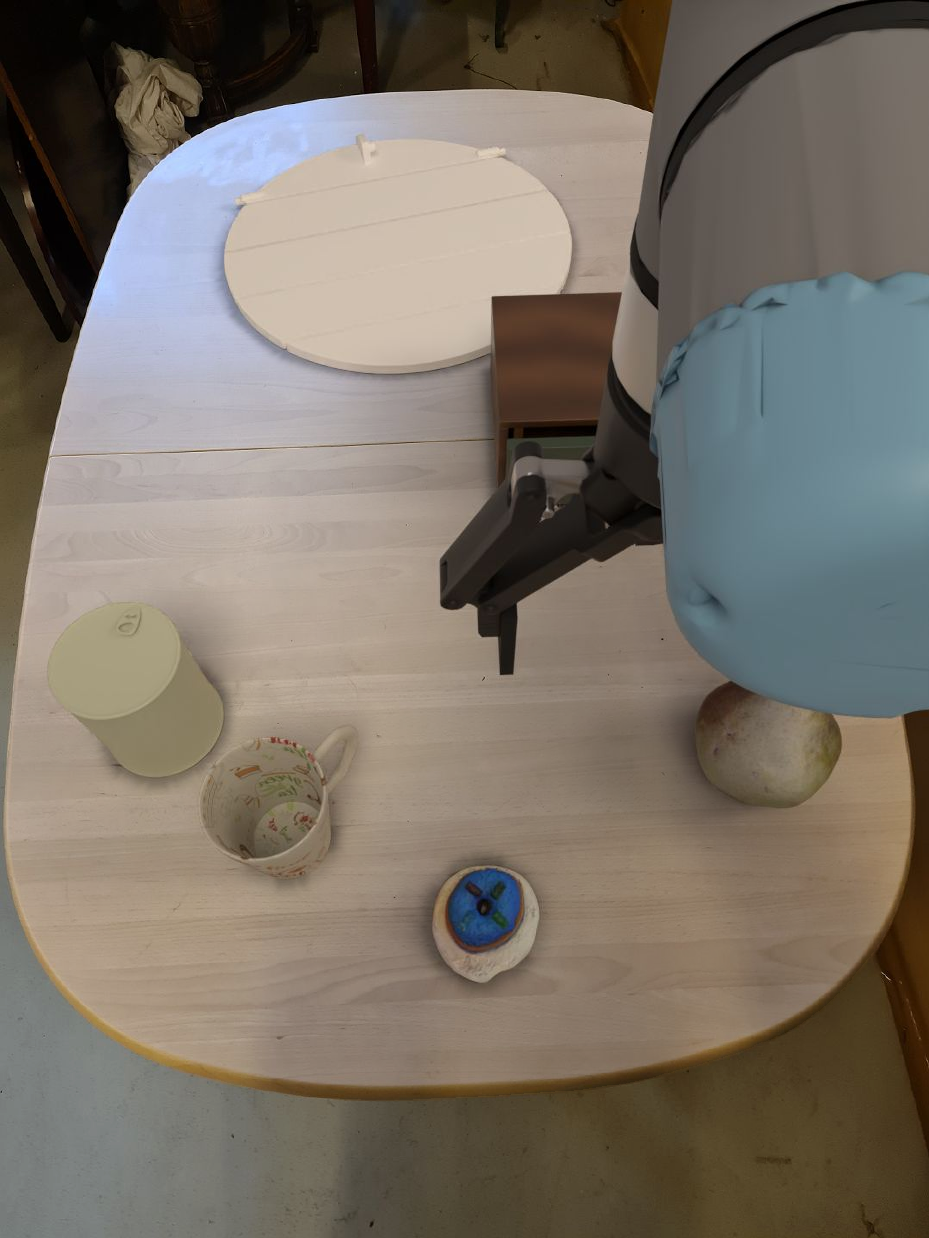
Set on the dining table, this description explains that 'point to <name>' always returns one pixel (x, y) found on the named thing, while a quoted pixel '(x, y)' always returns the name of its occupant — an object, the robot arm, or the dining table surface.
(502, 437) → the cabinet
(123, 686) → the can
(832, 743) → the fruit
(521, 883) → the dessert
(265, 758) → the mug
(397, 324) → the lazy susan
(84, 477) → the dining table surface
